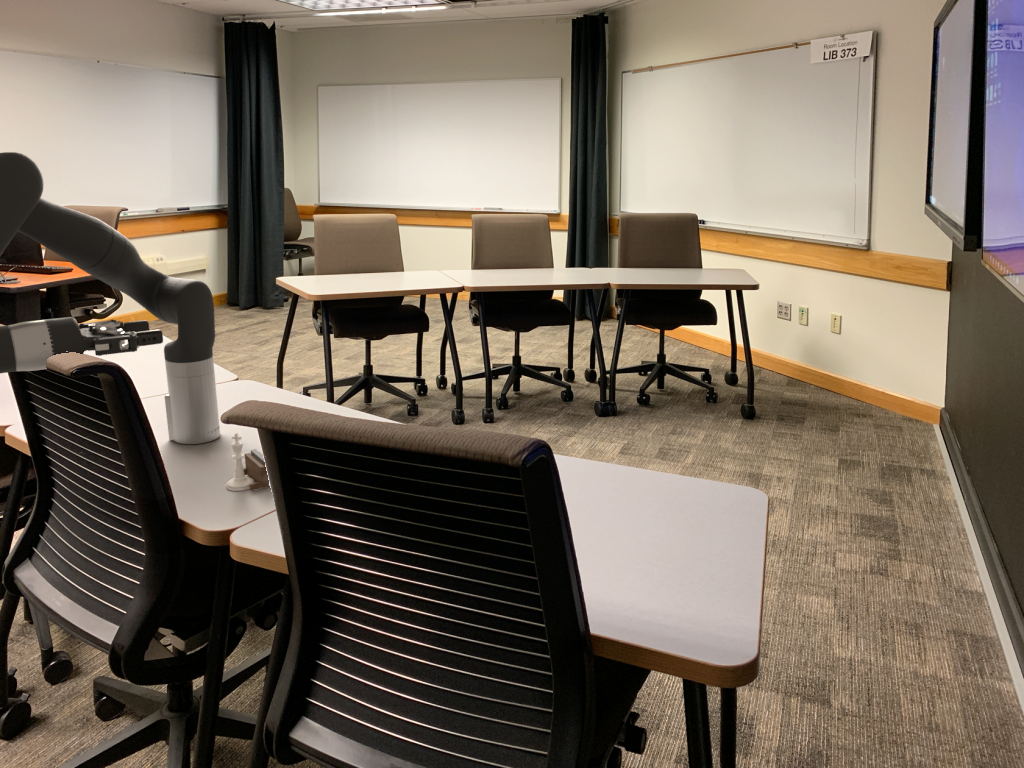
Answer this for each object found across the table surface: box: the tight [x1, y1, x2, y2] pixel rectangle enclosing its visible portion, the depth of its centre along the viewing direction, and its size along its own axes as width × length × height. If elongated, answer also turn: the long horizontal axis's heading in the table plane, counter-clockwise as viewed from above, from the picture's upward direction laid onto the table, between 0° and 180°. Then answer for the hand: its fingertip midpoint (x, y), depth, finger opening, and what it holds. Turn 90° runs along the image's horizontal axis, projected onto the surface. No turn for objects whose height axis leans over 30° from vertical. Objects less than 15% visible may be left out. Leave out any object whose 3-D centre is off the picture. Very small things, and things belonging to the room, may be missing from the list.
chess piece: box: [225, 432, 255, 492], centre depth 157 cm, size 5×5×10 cm
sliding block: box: [243, 452, 268, 491], centre depth 159 cm, size 3×8×4 cm, turn 35°
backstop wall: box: [250, 448, 270, 489], centre depth 160 cm, size 1×7×5 cm, turn 36°
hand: (155, 331), depth 144 cm, fingers open, 8 cm apart
